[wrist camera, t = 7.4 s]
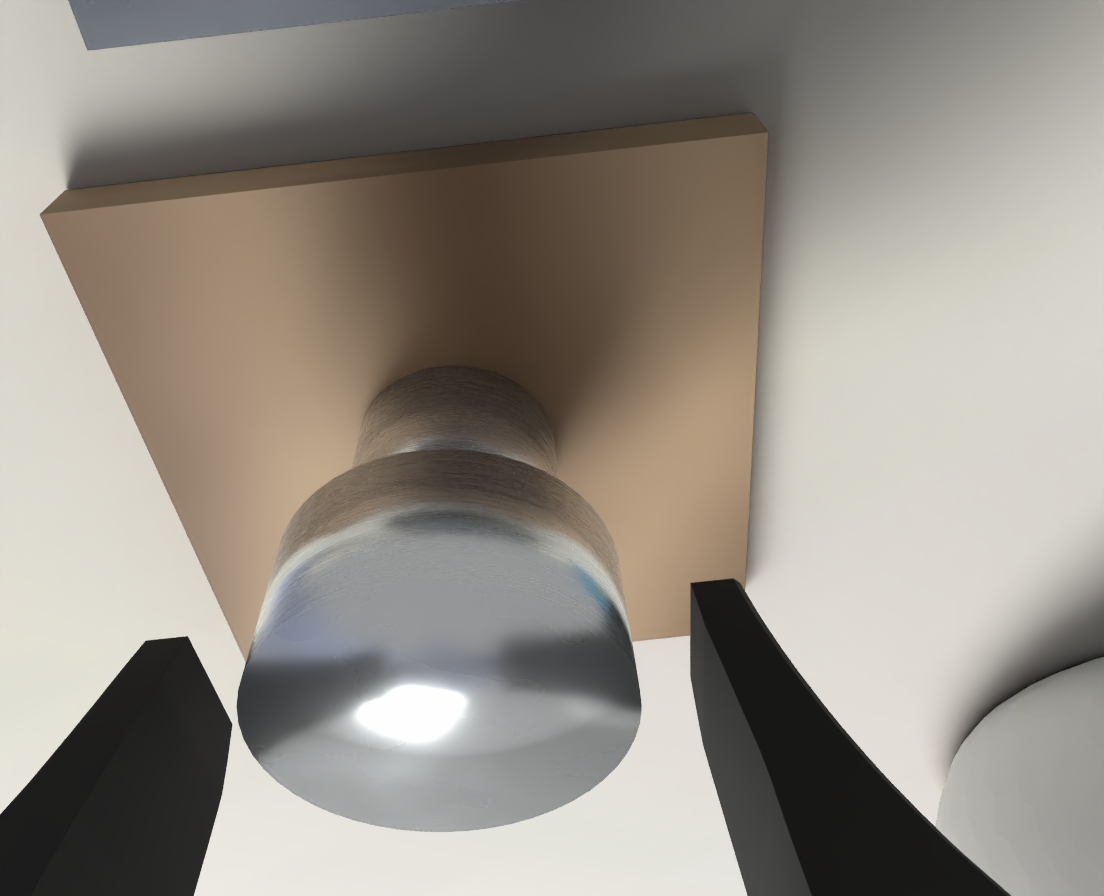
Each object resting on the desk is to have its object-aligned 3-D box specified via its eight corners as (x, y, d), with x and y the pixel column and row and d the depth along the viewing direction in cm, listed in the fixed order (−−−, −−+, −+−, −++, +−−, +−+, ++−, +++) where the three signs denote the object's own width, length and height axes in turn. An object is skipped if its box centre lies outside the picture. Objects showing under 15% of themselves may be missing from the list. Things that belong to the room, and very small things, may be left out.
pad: (263, 646, 21) (254, 681, 20) (65, 190, 14) (39, 214, 13) (733, 597, 21) (743, 630, 20) (752, 112, 14) (768, 131, 13)
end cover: (345, 561, 18) (291, 845, 13) (282, 337, 15) (182, 600, 10) (601, 540, 18) (641, 815, 13) (593, 312, 15) (641, 563, 10)
